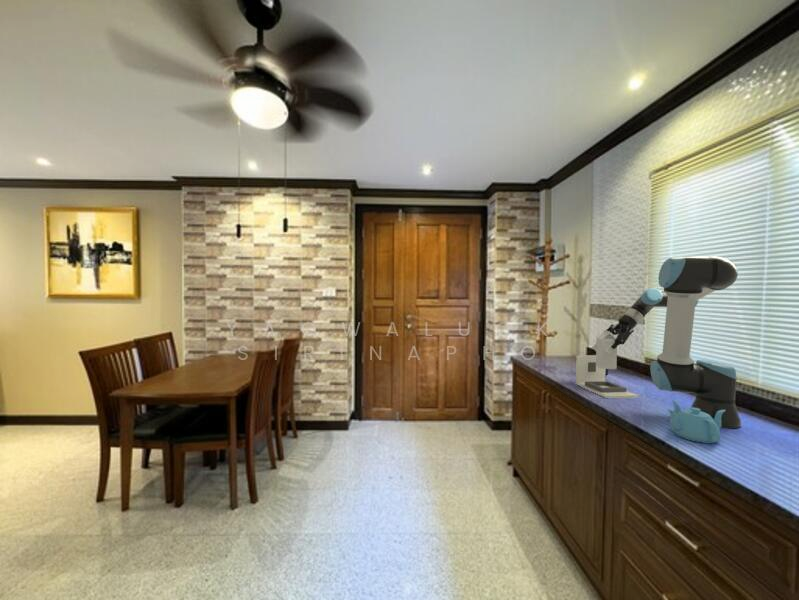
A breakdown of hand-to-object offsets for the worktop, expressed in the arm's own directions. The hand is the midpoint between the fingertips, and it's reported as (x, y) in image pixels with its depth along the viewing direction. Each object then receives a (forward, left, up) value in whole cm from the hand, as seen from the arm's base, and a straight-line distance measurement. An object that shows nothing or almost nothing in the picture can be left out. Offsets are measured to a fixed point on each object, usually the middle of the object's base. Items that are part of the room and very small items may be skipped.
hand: (600, 350), depth 177 cm
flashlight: (+24, -20, -21) cm, 37 cm away
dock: (0, -3, -21) cm, 21 cm away
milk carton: (0, -3, -9) cm, 10 cm away
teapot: (-54, +4, -21) cm, 58 cm away
